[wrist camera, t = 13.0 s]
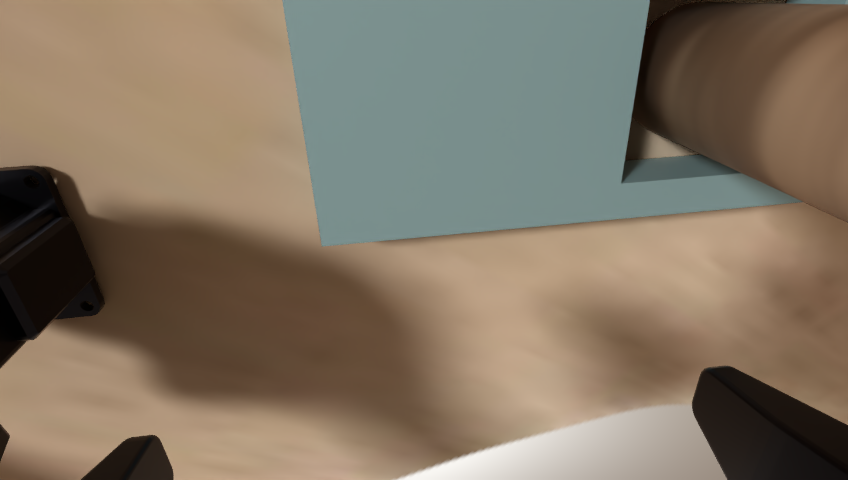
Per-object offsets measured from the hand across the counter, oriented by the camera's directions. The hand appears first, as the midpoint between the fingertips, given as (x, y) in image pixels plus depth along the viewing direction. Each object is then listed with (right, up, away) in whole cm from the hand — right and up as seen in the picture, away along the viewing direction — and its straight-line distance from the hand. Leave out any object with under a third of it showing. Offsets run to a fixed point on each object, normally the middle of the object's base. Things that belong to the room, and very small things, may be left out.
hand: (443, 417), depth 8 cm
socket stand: (+5, +9, +11) cm, 15 cm away
